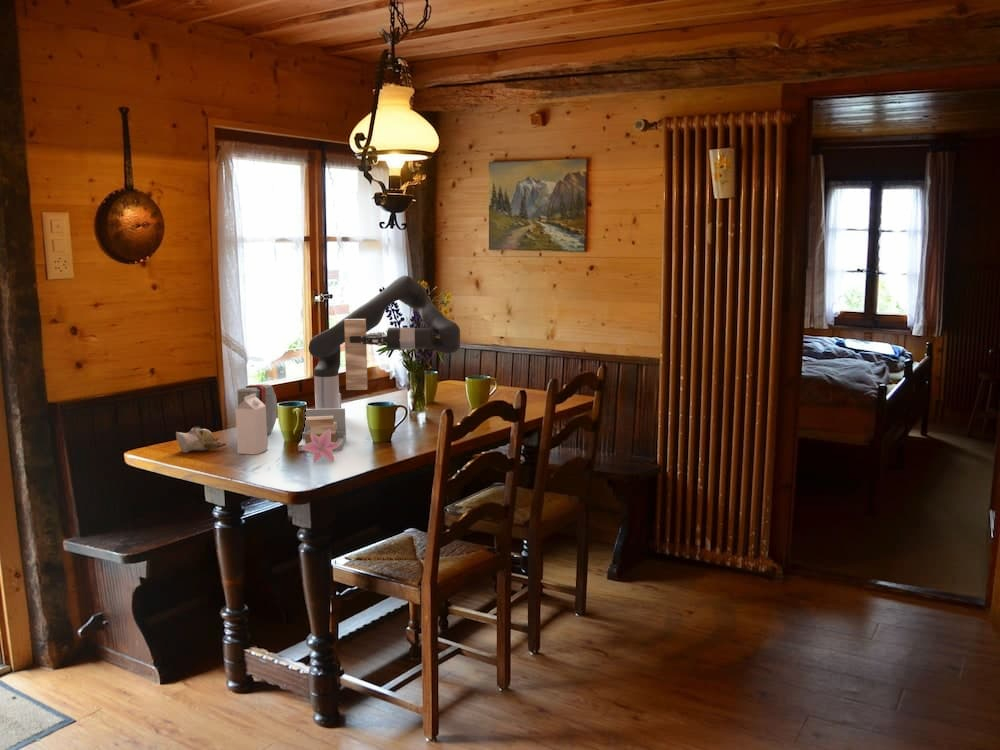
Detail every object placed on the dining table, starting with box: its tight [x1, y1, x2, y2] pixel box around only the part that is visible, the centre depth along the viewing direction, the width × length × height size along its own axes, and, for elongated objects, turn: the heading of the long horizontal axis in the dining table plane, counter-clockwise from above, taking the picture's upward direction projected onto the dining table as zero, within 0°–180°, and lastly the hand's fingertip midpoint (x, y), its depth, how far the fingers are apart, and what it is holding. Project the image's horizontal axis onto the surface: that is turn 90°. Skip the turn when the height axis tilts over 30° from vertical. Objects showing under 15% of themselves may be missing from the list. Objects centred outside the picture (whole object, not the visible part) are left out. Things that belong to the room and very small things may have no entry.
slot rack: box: [297, 407, 347, 452], centre depth 296 cm, size 16×14×11 cm
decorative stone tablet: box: [236, 384, 278, 436], centre depth 308 cm, size 19×6×30 cm
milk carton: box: [234, 393, 269, 455], centre depth 287 cm, size 7×7×19 cm
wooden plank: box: [343, 318, 368, 391], centre depth 297 cm, size 2×7×24 cm, turn 94°
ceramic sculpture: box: [175, 425, 227, 454], centre depth 291 cm, size 11×9×15 cm
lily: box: [301, 429, 340, 464], centre depth 278 cm, size 11×11×9 cm
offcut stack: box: [305, 416, 338, 443], centre depth 294 cm, size 6×10×8 cm, turn 94°
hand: (350, 339), depth 296 cm, fingers closed on wooden plank, 2 cm apart
